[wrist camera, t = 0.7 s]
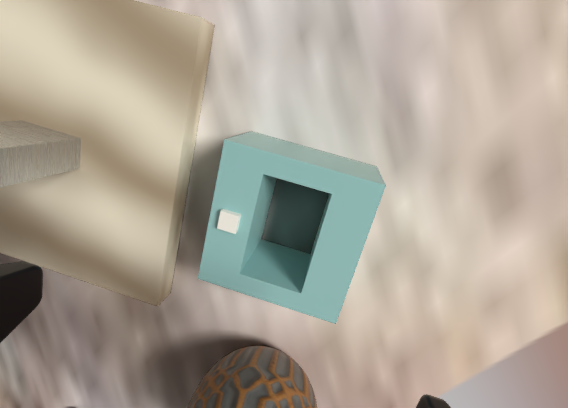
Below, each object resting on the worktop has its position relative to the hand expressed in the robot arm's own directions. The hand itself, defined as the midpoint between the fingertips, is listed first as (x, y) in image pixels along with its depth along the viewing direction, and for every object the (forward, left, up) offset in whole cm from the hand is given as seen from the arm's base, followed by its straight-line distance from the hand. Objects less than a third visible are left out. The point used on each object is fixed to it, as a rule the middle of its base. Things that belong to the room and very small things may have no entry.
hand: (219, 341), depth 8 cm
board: (0, +13, -11) cm, 17 cm away
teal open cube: (0, 0, -11) cm, 11 cm away
